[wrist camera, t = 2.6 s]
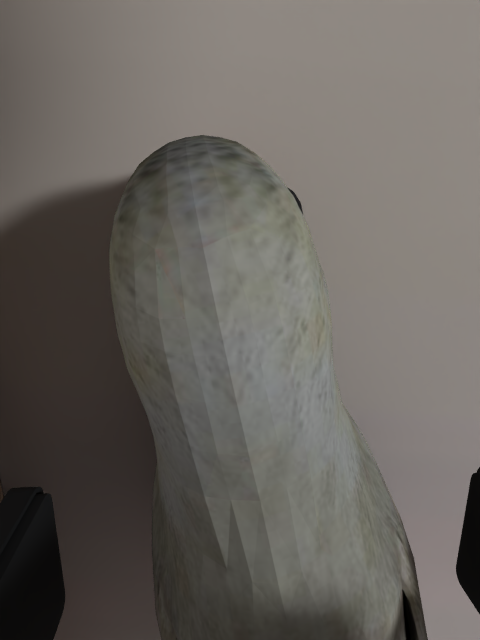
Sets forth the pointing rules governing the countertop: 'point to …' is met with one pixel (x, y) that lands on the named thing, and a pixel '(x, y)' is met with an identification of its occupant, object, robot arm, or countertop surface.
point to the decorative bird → (249, 413)
